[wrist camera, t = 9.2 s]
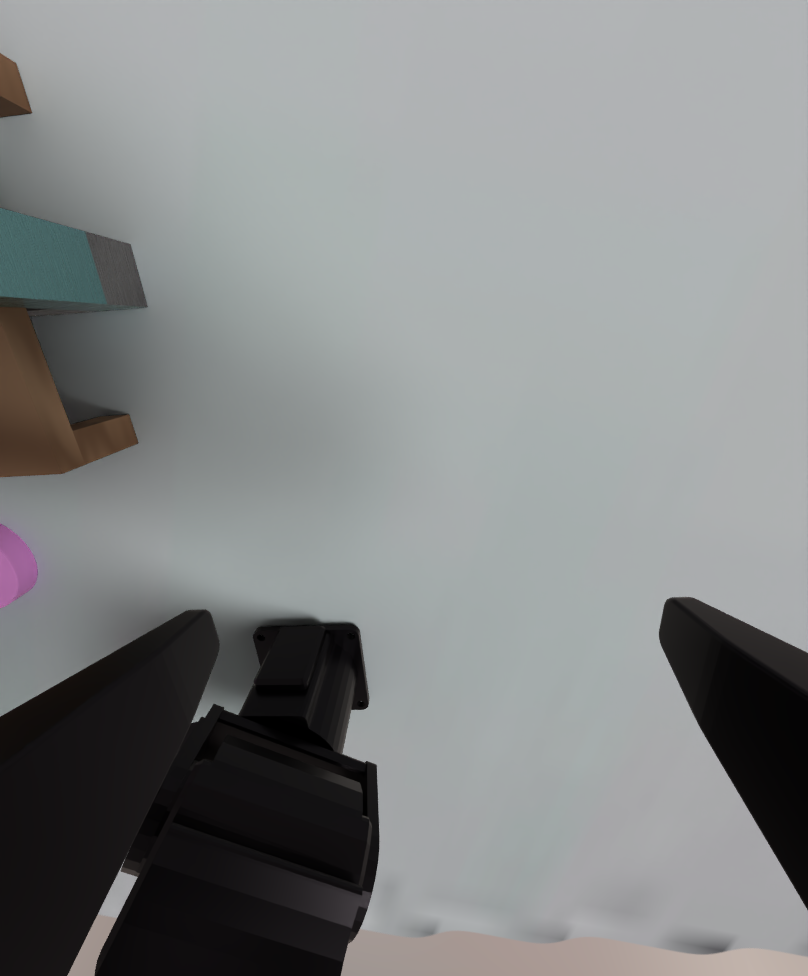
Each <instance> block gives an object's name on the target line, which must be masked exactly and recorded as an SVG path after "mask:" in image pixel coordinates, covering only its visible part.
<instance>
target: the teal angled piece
mask: <svg viewBox="0 0 808 976" xmlns="http://www.w3.org/2000/svg"><path fill="white" fill-rule="evenodd" d="M0 307H17V308H26V310H27V312H28V315H29V317H35V316H47V315H59V314H71V313H84V312H96V311H108V310H120V309H132V308H144V307H147V303H146V299H145V296H144V292H143V288H142V285H141V281H140V277H139V274H138V270H137V267H136V263H135V259H134V256H133V252H132V248H131V245H130V244H127V243H124V242H120V241H117V240H113V239H110V238H106V237H102V236H99V235H95V234H92V233H88V232H85V231H81V230H77V229H74V228H70V227H67V226H63V225H60V224H56V223H52V222H49V221H45V220H42V219H38V218H35V217H31V216H27V215H24V214H20V213H17V212H13V211H10V210H6V209H2V208H0Z"/></svg>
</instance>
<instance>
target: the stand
mask: <svg viewBox="0 0 808 976" xmlns="http://www.w3.org/2000/svg"><path fill="white" fill-rule="evenodd" d="M28 113H32V111H31V108H30V105H29V102H28V99H27V96H26V92H25V89H24V86H23V83H22V80H21V77H20V74H19V71H18V68H17V65H16V63H15V62H13V61H12V60H10V59H9V58H7V57H5V56H4V55H2V54H1V53H0V117H5V116H13V115H21V114H28ZM135 444H138V440H137V437H136V434H135V431H134V428H133V425H132V422H131V419H130V415H129V414H128V415H113V416H100V417H97V418H93V419H89V420H86V421H82V422H78V423H75V424H71V425H70V423H69V420H68V418H67V415H66V413H65V410H64V407H63V405H62V402H61V399H60V397H59V394H58V391H57V389H56V386H55V384H54V381H53V378H52V376H51V373H50V370H49V368H48V365H47V362H46V360H45V357H44V355H43V352H42V349H41V347H40V344H39V341H38V339H37V336H36V333H35V331H34V328H33V325H32V323H31V320H30V318H29V315H28V312H27V310H26V308H17V307H0V477H12V476H30V475H49V474H63V473H65V472H68V471H70V470H73V469H75V468H78V467H80V466H83V465H85V464H88V463H90V462H93V461H95V460H98V459H100V458H103V457H105V456H108V455H110V454H113V453H115V452H118V451H120V450H123V449H125V448H128V447H130V446H133V445H135Z"/></svg>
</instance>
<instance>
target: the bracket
mask: <svg viewBox="0 0 808 976" xmlns="http://www.w3.org/2000/svg"><path fill="white" fill-rule="evenodd" d="M37 575H38V570H37V564H36V561H35V558H34V556H33V554H32V552H31V551H30V549H29V548H28V546H27V545H26V544H25V543H24V541H23V540H22V539H21V538H20V537H19V536H18V535H16V534H15V533H14V532H13V531H11V530H10V529H9V528H7V527H5V526H4V525H2V524H0V608H2V607H4V606H6V605H8V604H10V603H11V602H13V601H14V600H16V599H17V598H19V597H20V596H22V595H23V594H25V593H26V592H28V591H29V590H30V589H31V588H32V587H33V586H34V585H35V583H36V580H37Z"/></svg>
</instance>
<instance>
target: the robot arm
mask: <svg viewBox="0 0 808 976" xmlns="http://www.w3.org/2000/svg"><path fill="white" fill-rule="evenodd" d="M349 633H353V634H354V635H350V634H349ZM260 634H261V635H263V636H261V635H260ZM264 636H265V637H264ZM253 639H254V643H255V647H256V651H257V655H258V658H259V662H260V666H261V667H260V669H259V672H258V674H257V676H256V678H255V680H254V684H253V686H252V688H251V690H250V693H249V695H248V697H247V699H246V701H245V703H244V705H243V707H242V709H241V711H240V713H239V715H236V714H234V713H231V712H228V711H226V710H224V707H221V706H218V705H216V704H214V705H213V706H212V708H211V709H210V711H209V712H208V714H207V716H206V717H205V718H204V717H201V718H200V720H199V721H198V722H195V723H191V722H192V720H193V718H194V715H195V713H196V710H197V708H198V705H199V702H200V700H201V697H202V695H203V692H204V689H205V687H206V684H207V681H208V679H209V676H210V674H211V671H212V668H213V666H214V663H215V661H216V658H217V655H218V652H219V646H220V644H219V638H218V635H217V631H216V628H215V625H214V622H213V618H212V615H211V613H210V612H209V611H208V610H188V611H185V612H183V613H181V614H180V615H178V616H176V617H174V618H173V619H171V620H169V621H167V622H166V623H164V624H162V625H160V626H159V627H157V628H155V629H153V630H152V631H150V632H148V633H146V634H145V635H143V636H141V637H139V638H138V639H136V640H134V641H132V642H131V643H129V644H127V645H125V646H124V647H122V648H120V649H118V650H117V651H115V652H113V653H111V654H109V655H108V656H106V657H104V658H102V659H101V660H99V661H97V662H95V663H94V664H92V665H90V666H88V667H87V668H85V669H83V670H81V671H80V672H78V673H76V674H74V675H73V676H71V677H69V678H67V679H66V680H64V681H62V682H60V683H59V684H57V685H55V686H53V687H52V688H50V689H48V690H46V691H45V692H43V693H41V694H39V695H38V696H36V697H34V698H32V699H31V700H29V701H27V702H25V703H24V704H22V705H20V706H18V707H17V708H15V709H13V710H11V711H10V712H8V713H6V714H4V715H2V716H1V717H0V976H67V975H68V973H69V971H70V969H71V967H72V965H73V963H74V961H75V959H76V957H77V955H78V953H79V951H80V949H81V947H82V944H83V943H84V940H85V939H86V936H87V935H88V932H89V930H90V928H91V926H92V924H93V922H94V920H95V918H96V916H97V914H98V912H99V910H100V908H101V906H102V904H103V902H104V900H105V898H106V896H107V894H108V892H109V890H110V888H111V886H112V884H113V882H114V880H115V878H116V876H117V874H118V872H119V870H120V868H121V866H122V864H123V866H122V869H121V872H124V873H128V874H131V875H134V876H136V877H138V878H137V880H136V882H135V884H134V886H133V888H132V890H131V892H130V894H129V896H128V898H127V900H126V902H125V904H124V906H123V908H122V910H121V912H120V914H119V916H118V918H117V920H116V922H115V924H114V926H113V928H112V930H111V932H110V934H109V936H108V938H107V940H106V942H105V944H104V946H103V948H102V950H101V952H100V955H99V957H98V960H97V964H96V969H95V976H341V971H342V966H343V961H344V957H345V953H346V949H347V945H348V943H350V942H351V941H353V939H354V938H355V937H356V935H357V933H358V931H359V929H360V927H361V925H362V923H363V920H364V917H365V915H366V912H367V909H368V905H369V902H370V898H371V895H372V891H373V886H374V882H375V877H376V871H377V864H378V855H379V816H378V789H377V765H376V764H373V763H370V762H368V761H366V762H365V763H364V762H362V761H359V760H356V759H354V758H351V757H348V756H346V755H343V754H342V753H343V748H344V743H345V738H346V733H347V728H348V723H349V718H350V713H351V710H363V709H366V708H367V707H368V704H369V693H368V686H367V678H366V671H365V664H364V657H363V650H362V643H361V636H360V630H359V628H358V627H356V626H354V625H319V626H270V627H259V628H257V629H256V631H255V633H254V635H253ZM659 639H660V643H661V646H662V648H663V651H664V653H665V655H666V657H667V659H668V661H669V663H670V665H671V668H672V670H673V672H674V674H675V676H676V678H677V680H678V683H679V685H680V687H681V689H682V691H683V693H684V695H685V698H686V700H687V702H688V704H689V706H690V708H691V710H692V712H693V714H694V716H695V718H696V720H697V722H698V724H699V726H700V728H701V730H702V732H703V733H704V735H705V737H706V739H707V740H708V742H709V744H710V746H711V747H712V749H713V751H714V752H715V754H716V756H717V757H718V759H719V761H720V762H721V764H722V766H723V768H724V769H725V771H726V773H727V774H728V776H729V778H730V779H731V781H732V783H733V784H734V786H735V788H736V790H737V791H738V793H739V795H740V796H741V798H742V800H743V801H744V803H745V805H746V806H747V808H748V810H749V812H750V813H751V815H752V817H753V818H754V820H755V822H756V823H757V825H758V827H759V828H760V830H761V832H762V834H763V835H764V837H765V839H766V840H767V842H768V844H769V845H770V847H771V849H772V850H773V852H774V854H775V855H776V857H777V859H778V861H779V862H780V864H781V866H782V867H783V869H784V871H785V872H786V874H787V876H788V877H789V879H790V881H791V883H792V884H793V886H794V888H795V889H796V891H797V893H798V894H799V896H800V898H801V899H802V901H803V903H804V905H805V906H806V908H807V910H808V653H807V652H805V651H803V650H801V649H799V648H797V647H794V646H792V645H790V644H788V643H786V642H784V641H782V640H780V639H778V638H776V637H774V636H772V635H770V634H767V633H765V632H763V631H761V630H759V629H757V628H755V627H753V626H751V625H749V624H747V623H745V622H743V621H741V620H738V619H736V618H734V617H732V616H730V615H728V614H726V613H724V612H722V611H720V610H718V609H716V608H714V607H711V606H709V605H707V604H705V603H703V602H701V601H699V600H697V599H695V598H692V597H672V598H669V599H667V600H666V602H665V604H664V609H663V614H662V619H661V624H660V629H659ZM361 701H363V702H361ZM130 847H131V848H130ZM129 849H130V850H129ZM128 851H129V852H128ZM127 853H128V854H127ZM124 860H125V861H124ZM123 862H124V863H123Z"/></svg>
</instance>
